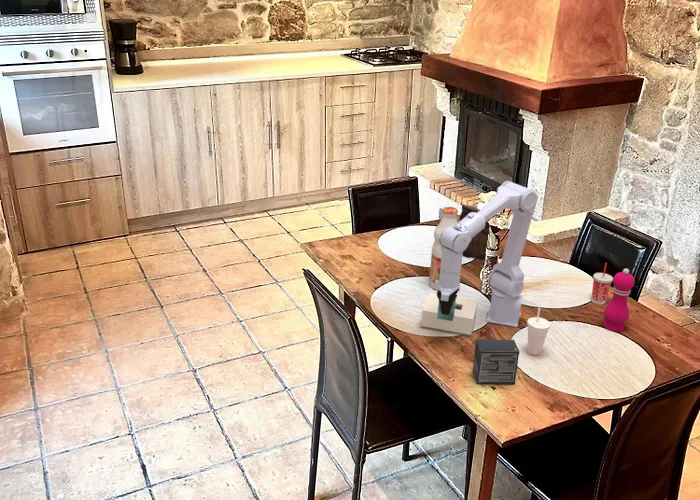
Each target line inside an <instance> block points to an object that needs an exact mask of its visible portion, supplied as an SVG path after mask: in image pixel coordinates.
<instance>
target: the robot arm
mask: <svg viewBox="0 0 700 500" xmlns="http://www.w3.org/2000/svg"><path fill="white" fill-rule="evenodd" d="M538 199H539V196H538V194H537V192H536V190H535V189H533V188H529V187H526V186H522V185H521V184H517V183H516V182H515V183H514V182H513V181H511V180H506V181H504V182H503V183H502V184H501V185H500V186H498V187H497V190H496V194H495V195H494V196H493V197H492V198H491V199H490V200H489V201H488V202H487V203H485V205H484V207H483V208H482V209H481V210H480V211H479V212H478V213H475V212H471V213H469V214H468V215H467V216H466V217H465V218H463V219H462V220H461V221H460V222H459V221H457V222H458V223H457V224H456V225H455V226H453V227H448V228H445V229H444V230H443V231H442V232H441V234H440V237H439V238H438V241H439V244H440V245H441V251H442V257H441V267H440V278H439V280H435V285H438V286H439V289H440V291H439V290H436V294H437V297H438V299H439V302H440V307H441V313H442V314H444V315H449V313H450V310H451V307H452V304H453V302H454V301H455V299H456V298H457V297H458V293H459V291H460V288H461V282H460V281H461V271H462V265H463V257H464V256H463V251H465V250H466V248H467V247H468V244H469V243H470V242H471V239H472V238H473V237H474V236H475V235H476V234H478V233H479V232H480V231H481V230H483V229H484V228H485V222H486V221H487V220H489V219H490V218H492V217H493V216H495V215H496V216H497V214H499V213H500V212H502V211H504V210H505V209H508V210H511V212H512V213H513V215H512V219H511V223H510V227H509V231H508V234H507V239H506V241H505V245H504V251H503V254H502V257H501V261H500V262H498V263H495V264H494V265H493V267H492V270H491V272H490V273H489V275H488V278H487V284H488V286H489V287H490V291H491V292H492V293H491V298H490V306H489V309H488V313H487V317H486V322H487V323H493V324H495V325H496V324H498V325H503V326H508V327H515V328H517V327H519V320H520V319H521V317H522V316H521V314H522V312H521V308H522V300H523V295H522V292H523V290H524V284H525V283H524V278H525V273H524V272H523V270H522V269H521V267H520V263H521V261H522V255H523V252H524V248H525V244H526V241H527V236H528V234H529V230H530V226H531V222H532V219H533V216H534V215H535V210H536V207H537V202H538Z"/></svg>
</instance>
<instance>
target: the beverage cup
mask: <svg viewBox="0 0 700 500" xmlns="http://www.w3.org/2000/svg"><path fill="white" fill-rule="evenodd" d="M607 265H608V262H605V264H604V267H603V272H595V273H594V274H593V276H592V277H593V282H592V290H591V296H590V301H591V302H592V303H593V304H596V305H604V304H606V303H607V298H608V295H609V292H610V289H611V285H612V283H613V279H614V276H612V275H610V274H608V273H606V269H607Z"/></svg>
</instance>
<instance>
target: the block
mask: <svg viewBox="0 0 700 500" xmlns="http://www.w3.org/2000/svg"><path fill="white" fill-rule="evenodd" d="M455 303H456V299H455V301H454V302H453V304H452V307H451V310H450V313H449V315H444V314H442V313H441V307H440V302H439V304H438V314H437V319H443V320H448V321H453V318H454V312H455Z"/></svg>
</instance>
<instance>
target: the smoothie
mask: <svg viewBox="0 0 700 500" xmlns="http://www.w3.org/2000/svg"><path fill="white" fill-rule="evenodd" d="M540 314H541V308H539V307H538V309H537V315H536V316H535V317H534V316H533V317H530V318H528V320H527V322H526V326H527V353H528V354H530V355H532V356H538V355H541V353H542V350H543V346H544V344H545V340H546V337H547V335H548V331H549V330H550V329H551V322H550V321H549V320H547V319H546V318H543V317H540Z"/></svg>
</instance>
